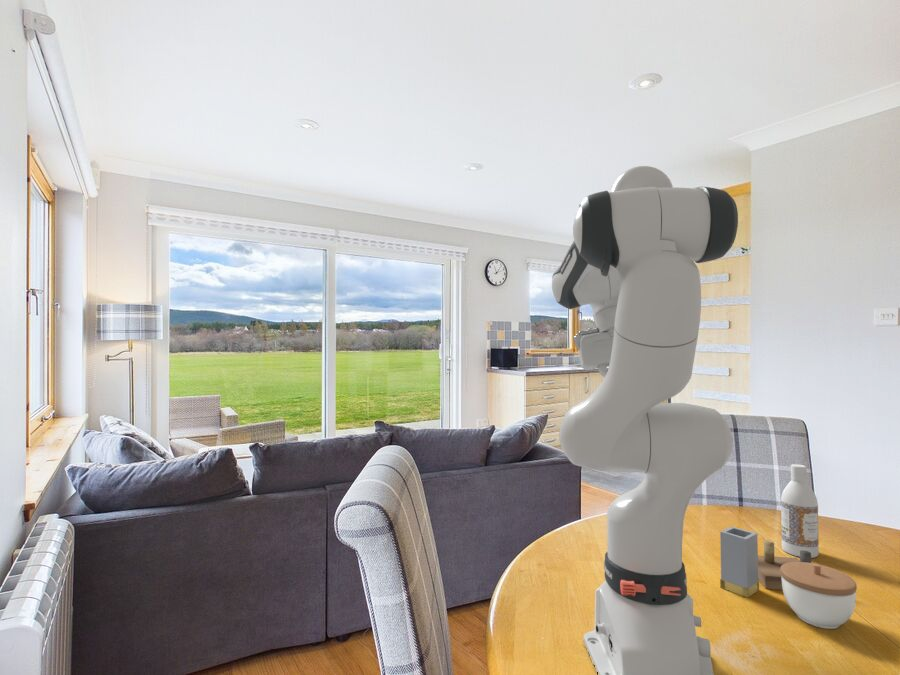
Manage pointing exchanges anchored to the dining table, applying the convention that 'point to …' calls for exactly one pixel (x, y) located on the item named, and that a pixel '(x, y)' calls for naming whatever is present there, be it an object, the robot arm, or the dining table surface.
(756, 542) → the sleeve
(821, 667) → the dining table surface
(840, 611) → the lidded jar
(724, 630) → the dining table surface
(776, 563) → the pin block
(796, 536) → the bath foam
